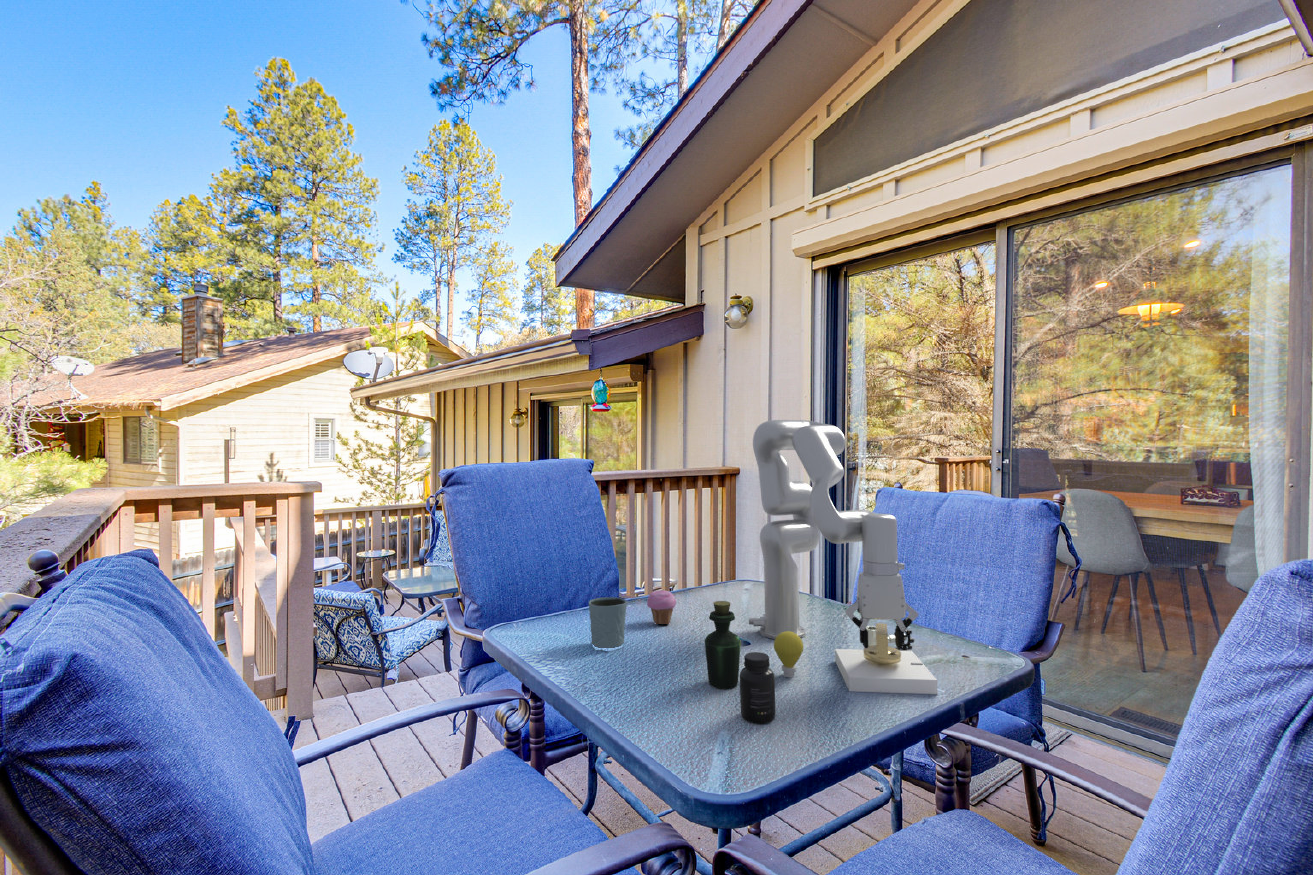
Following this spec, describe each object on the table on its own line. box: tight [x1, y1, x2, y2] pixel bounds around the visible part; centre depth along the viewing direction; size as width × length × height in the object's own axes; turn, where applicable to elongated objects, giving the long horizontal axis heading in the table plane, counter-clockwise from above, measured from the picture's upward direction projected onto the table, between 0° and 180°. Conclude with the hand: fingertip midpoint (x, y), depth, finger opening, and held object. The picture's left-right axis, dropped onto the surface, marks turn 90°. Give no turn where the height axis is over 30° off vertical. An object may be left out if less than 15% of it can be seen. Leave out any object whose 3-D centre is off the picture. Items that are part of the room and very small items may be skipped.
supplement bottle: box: [739, 651, 777, 725], centre depth 118 cm, size 7×7×12 cm
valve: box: [866, 625, 915, 651], centre depth 153 cm, size 7×7×12 cm
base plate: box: [834, 648, 938, 695], centre depth 137 cm, size 18×18×3 cm
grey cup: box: [588, 596, 628, 648], centre depth 162 cm, size 10×10×12 cm
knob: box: [863, 622, 901, 664], centre depth 138 cm, size 11×8×8 cm
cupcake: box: [646, 589, 677, 625], centre depth 181 cm, size 9×9×10 cm
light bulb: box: [773, 631, 804, 678], centre depth 139 cm, size 7×7×10 cm
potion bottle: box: [703, 600, 742, 690], centre depth 135 cm, size 8×8×18 cm
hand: (881, 646), depth 137 cm, fingers open, 6 cm apart
